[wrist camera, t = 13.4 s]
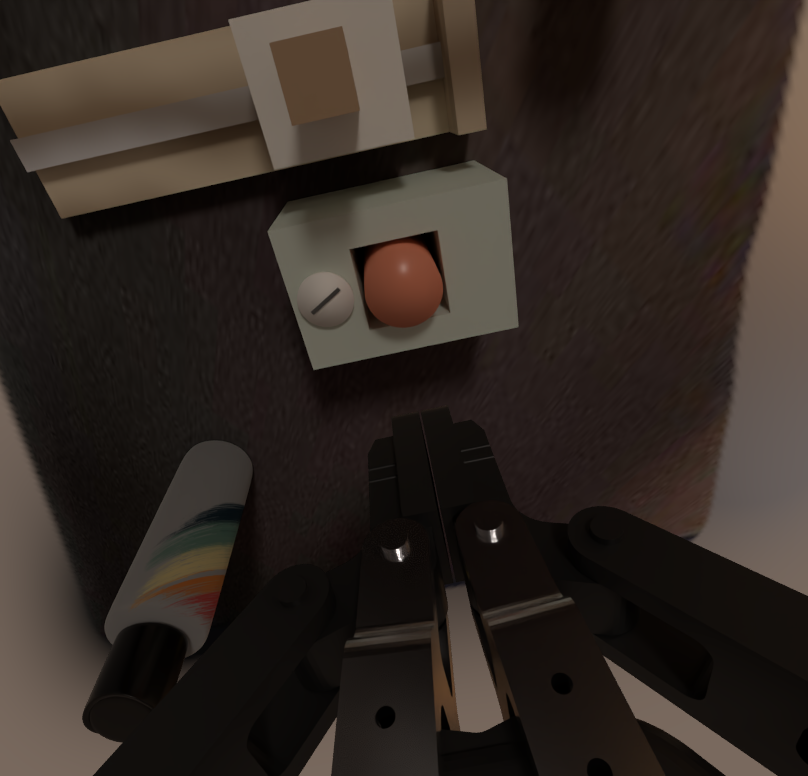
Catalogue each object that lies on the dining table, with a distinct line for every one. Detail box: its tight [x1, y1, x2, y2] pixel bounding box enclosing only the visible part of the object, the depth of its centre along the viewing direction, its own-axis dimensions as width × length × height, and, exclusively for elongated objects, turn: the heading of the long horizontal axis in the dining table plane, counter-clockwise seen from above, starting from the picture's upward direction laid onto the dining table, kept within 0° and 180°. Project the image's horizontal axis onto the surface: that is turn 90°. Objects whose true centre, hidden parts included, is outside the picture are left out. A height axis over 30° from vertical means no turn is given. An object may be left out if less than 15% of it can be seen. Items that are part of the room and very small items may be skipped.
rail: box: [0, 0, 487, 218], centre depth 26 cm, size 7×25×4 cm, turn 101°
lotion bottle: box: [82, 440, 253, 742], centre depth 33 cm, size 6×6×20 cm
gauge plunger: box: [364, 234, 443, 328], centre depth 28 cm, size 4×4×6 cm
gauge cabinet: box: [268, 161, 518, 370], centre depth 29 cm, size 8×12×8 cm, turn 101°
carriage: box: [229, 0, 415, 170], centre depth 21 cm, size 6×7×11 cm
